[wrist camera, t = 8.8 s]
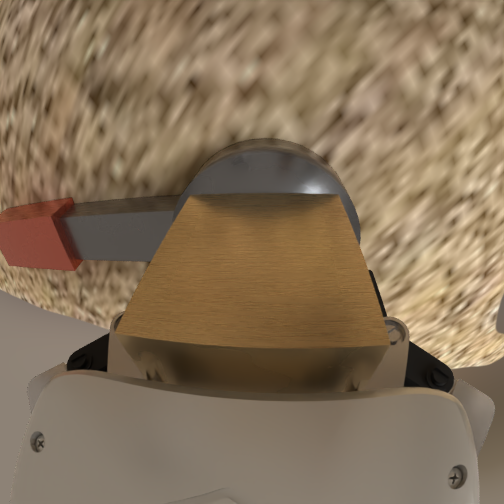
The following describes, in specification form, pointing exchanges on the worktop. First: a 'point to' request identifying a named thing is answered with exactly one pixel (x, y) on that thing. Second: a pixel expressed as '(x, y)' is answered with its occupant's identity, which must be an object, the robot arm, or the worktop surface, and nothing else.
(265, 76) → the worktop surface
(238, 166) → the ratchet
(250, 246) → the wooden block
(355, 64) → the worktop surface
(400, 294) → the worktop surface
